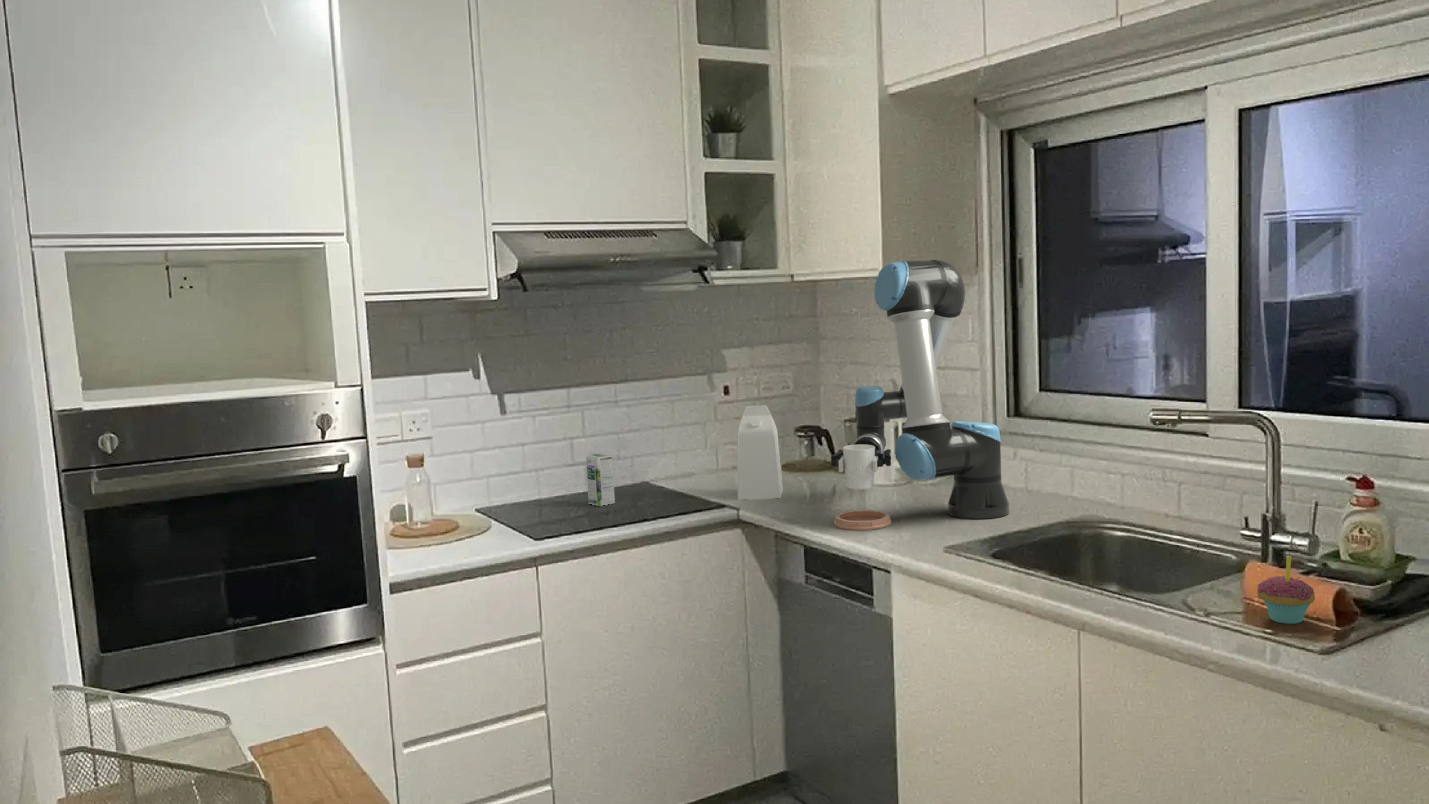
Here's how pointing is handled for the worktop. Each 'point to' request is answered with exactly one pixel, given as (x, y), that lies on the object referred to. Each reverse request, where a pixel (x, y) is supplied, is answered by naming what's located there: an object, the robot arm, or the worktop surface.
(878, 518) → the saucer
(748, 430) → the milk
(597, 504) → the syrup box
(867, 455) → the white cup
